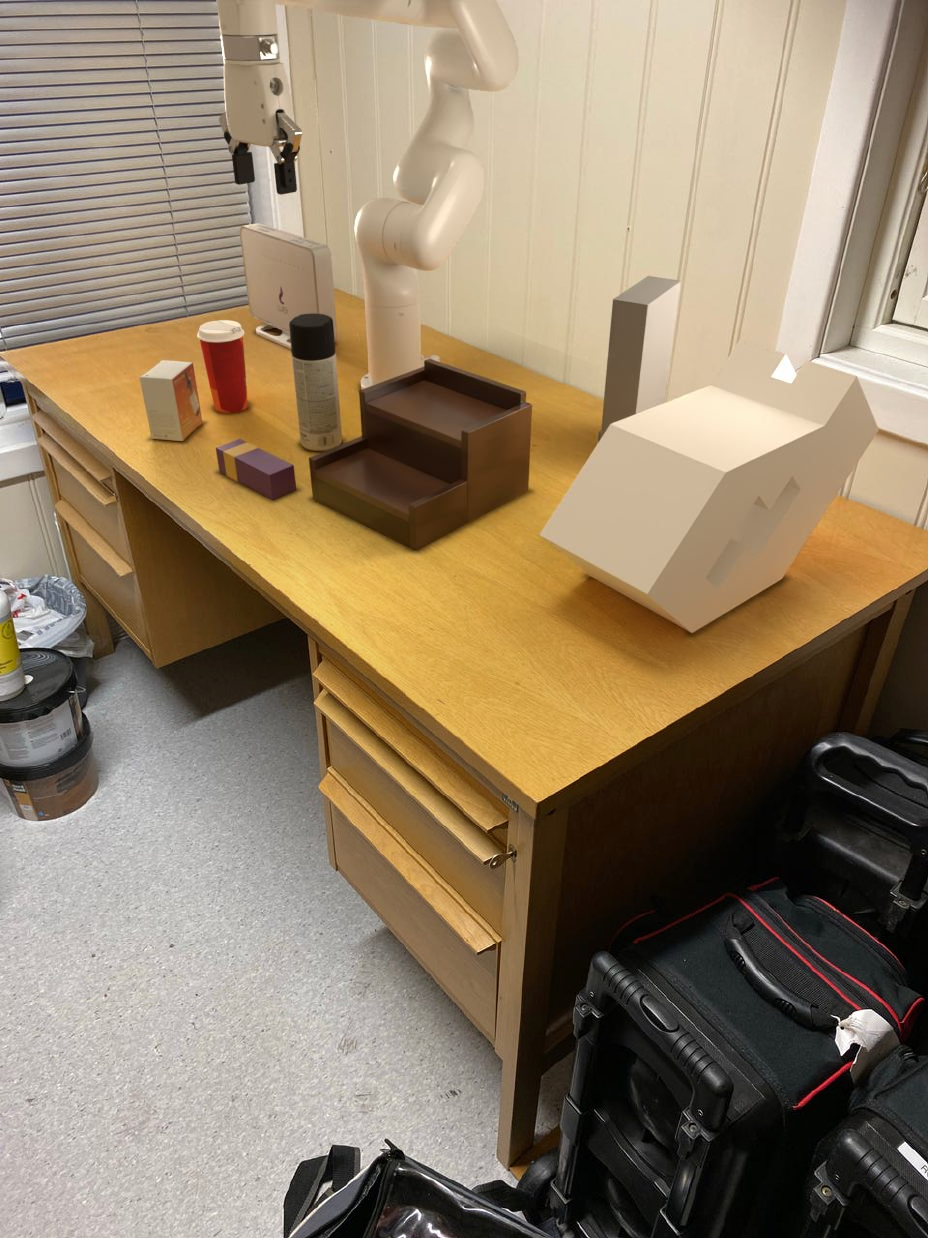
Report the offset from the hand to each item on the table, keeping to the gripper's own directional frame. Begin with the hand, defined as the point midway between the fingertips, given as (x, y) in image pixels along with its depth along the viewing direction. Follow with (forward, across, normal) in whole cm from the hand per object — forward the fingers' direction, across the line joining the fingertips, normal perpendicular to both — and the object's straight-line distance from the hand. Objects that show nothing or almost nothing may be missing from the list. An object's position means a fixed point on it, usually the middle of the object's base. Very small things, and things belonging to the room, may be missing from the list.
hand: (265, 187), depth 138 cm
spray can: (+37, -9, +1) cm, 38 cm away
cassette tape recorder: (+37, -46, -31) cm, 67 cm away
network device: (+37, +34, -28) cm, 57 cm away
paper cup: (+37, +14, +2) cm, 40 cm away
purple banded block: (+37, -12, +16) cm, 42 cm away
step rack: (+37, -33, +2) cm, 49 cm away
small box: (+37, +12, +14) cm, 41 cm away
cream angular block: (+37, -73, -8) cm, 83 cm away
